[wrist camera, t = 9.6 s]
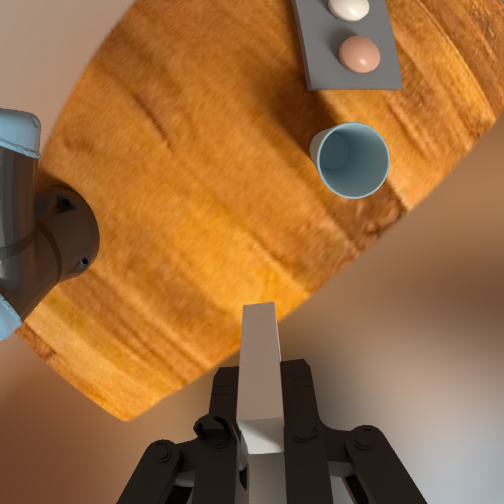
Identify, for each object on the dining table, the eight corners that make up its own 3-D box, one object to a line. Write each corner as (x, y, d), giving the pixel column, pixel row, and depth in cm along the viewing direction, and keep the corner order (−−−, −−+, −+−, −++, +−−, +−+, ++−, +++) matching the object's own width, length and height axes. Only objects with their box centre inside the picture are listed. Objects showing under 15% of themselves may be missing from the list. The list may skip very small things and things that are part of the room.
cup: (290, 135, 35) (303, 140, 26) (342, 112, 34) (373, 111, 24) (315, 187, 38) (335, 210, 29) (365, 164, 36) (399, 180, 27)
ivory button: (327, 26, 27) (335, 17, 24) (321, -3, 25) (327, -14, 22) (361, 28, 27) (372, 19, 23) (354, -1, 25) (364, -11, 22)
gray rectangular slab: (307, 91, 33) (311, 88, 30) (280, -44, 23) (281, -54, 21) (392, 90, 32) (402, 89, 29) (362, -40, 23) (368, -48, 20)
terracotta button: (336, 76, 30) (345, 71, 27) (330, 43, 28) (339, 34, 25) (370, 76, 30) (382, 72, 26) (365, 44, 28) (376, 36, 24)
